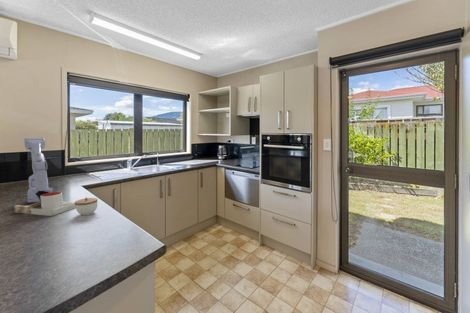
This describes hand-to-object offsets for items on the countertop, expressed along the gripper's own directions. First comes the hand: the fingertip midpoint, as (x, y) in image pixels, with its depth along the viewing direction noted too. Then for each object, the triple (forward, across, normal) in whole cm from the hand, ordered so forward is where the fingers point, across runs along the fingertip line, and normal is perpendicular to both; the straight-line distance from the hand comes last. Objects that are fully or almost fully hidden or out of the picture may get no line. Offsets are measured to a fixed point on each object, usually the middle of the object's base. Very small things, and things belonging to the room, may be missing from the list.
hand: (43, 203), depth 133 cm
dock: (+4, +8, 0) cm, 9 cm away
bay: (+4, -7, 0) cm, 8 cm away
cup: (+4, +7, 0) cm, 8 cm away
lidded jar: (+4, +32, 0) cm, 32 cm away
